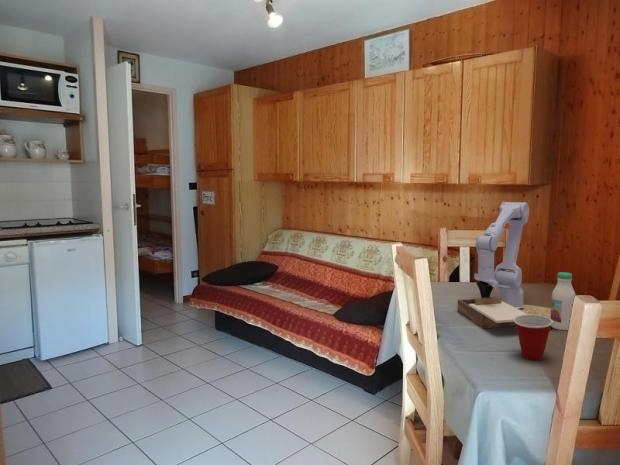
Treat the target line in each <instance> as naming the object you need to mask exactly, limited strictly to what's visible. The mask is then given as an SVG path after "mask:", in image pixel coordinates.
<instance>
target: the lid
mask: <svg viewBox="0 0 620 465" xmlns="http://www.w3.org/2000/svg"><path fill="white" fill-rule="evenodd" d="M474 299H475V304H469V306H470V307H471V308H473V309H475V310H476V311H478V312H480V313H481V314H483V315H485V316H486V317H488V318H490V319H491V320H493V321H495V322H496V323H502V322H514V318H515V317H517V316H520V315H529V314H528V313H526V312H525V311H523V310H522V309H517V308H515V307H513V306H511V305H509V304H507V303H505V302H501V297H499V296H498V297H497V296H490V297H483V298H481V297H475V298H474Z"/></svg>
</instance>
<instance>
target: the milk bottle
mask: <svg viewBox="0 0 620 465" xmlns="http://www.w3.org/2000/svg"><path fill="white" fill-rule="evenodd" d="M556 276H557V279H556V280H557V283H556V285H555V287H554V289H553V290H552V292H551V293H552V294H551V299H550V300H551V302H550V303H551V304H550V319H552V320H553V324H552V325H551V327H550V328H553V329H556V330H560V331H569V330H568V326H569V320H570V315H571V310H572V304H573V299H574V297H575V296H576V292H575V290H574V287H573V285H572V280H573V274H572V273H570V272H565V271H562V272H561V271H560V272H558V273H557V275H556Z"/></svg>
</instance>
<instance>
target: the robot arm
mask: <svg viewBox="0 0 620 465" xmlns="http://www.w3.org/2000/svg"><path fill="white" fill-rule="evenodd" d="M529 215H530V206H529V204H528V203H527V202H525V201H524V202H517V201H516V202H514V201H502V202H501V204H500V206H499V215H498V217H497V219H496V220H495V222H492V223H490V224H489V226H488V227H487V229H486V230H485V231H484V233H483V235H481V234H480V235H479V236H478V237H477V238H476V241H475V248H476V254H477V255H478V256H477V257H478V258H477V260H478V266H477V267H478V268H477V273H474V277H473V278H474V280H476V281H477V282H476V285H477V288H478V290H479V293H480V298H483V297H491V294H492V292H493V291H494V288H497V290H496V291H497V294H496V295H497V296H496V297H498V296H499V297H501V302H505V303H507V304H509V305H511V306H513V307H522V306H523V307H524V290H523V288H522V287H521V284H522V280H523V276H522V275H523V274H522V273H523V270H522V268H521V267H519V266H518V265H517V259H518V256H519V255H518V254H519V250H520V249H519V248H520V244H521V239H522V234H523V228H524V225H526V224H527V223H528V220H529ZM507 224H509V229H508V234H507V238H506V239H507V240H506V244H505V249H504V254H503V255H504V256H503V260H502V262H501V263H499V264H497V265H496V267H495V253H496V252H495V251H496V250H497V248H498V246H499V245H498V244H499V242H500V239H501V237H502V235H503V233H505V226H506V225H507Z"/></svg>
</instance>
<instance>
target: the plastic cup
mask: <svg viewBox="0 0 620 465" xmlns="http://www.w3.org/2000/svg"><path fill="white" fill-rule="evenodd" d="M514 322H515V324H516V326H515V327H516V329H517V334H518V341H519V346H520V353H521V356H522V357H523V358H525V359H528V360H532V361H539V360H543V357H544V355H545V350H546V349H547V348H546V347H547V342H548V338H549V333H550V330H551V328H552V327H551V325H552V324H553V320H552V319H551V317H548V316H545V315H541V314H530V313H529V314H528V315H520V316H517V317H515V318H514Z"/></svg>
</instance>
